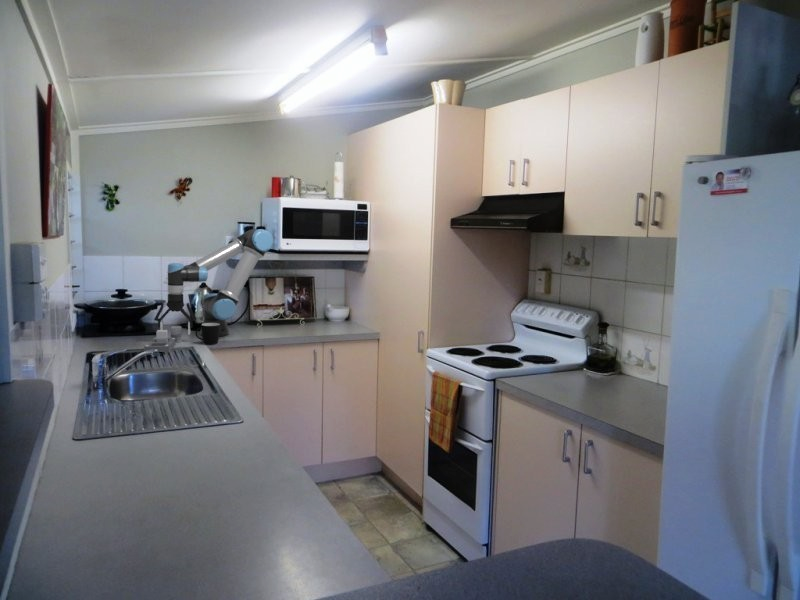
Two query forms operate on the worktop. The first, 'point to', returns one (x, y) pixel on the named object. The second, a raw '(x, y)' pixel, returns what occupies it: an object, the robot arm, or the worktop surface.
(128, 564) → the worktop surface
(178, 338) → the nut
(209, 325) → the mug
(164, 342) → the grey blocky piece
